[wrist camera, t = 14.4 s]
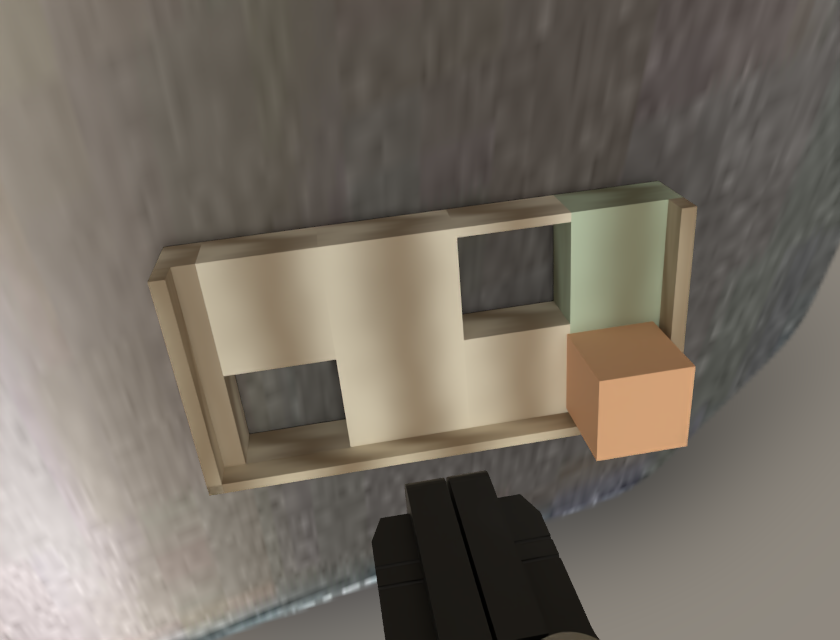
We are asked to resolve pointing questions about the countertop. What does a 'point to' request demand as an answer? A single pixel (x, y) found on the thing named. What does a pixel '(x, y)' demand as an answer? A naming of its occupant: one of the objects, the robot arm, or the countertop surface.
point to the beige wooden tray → (409, 328)
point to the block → (628, 390)
